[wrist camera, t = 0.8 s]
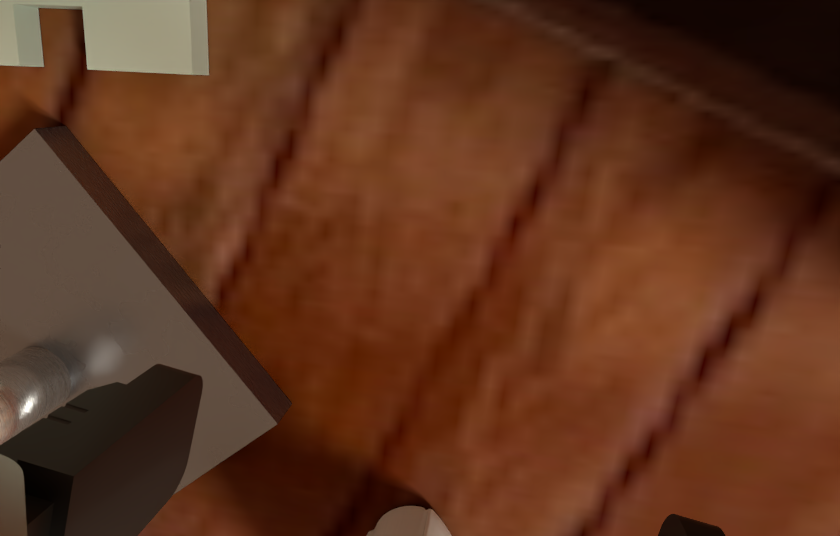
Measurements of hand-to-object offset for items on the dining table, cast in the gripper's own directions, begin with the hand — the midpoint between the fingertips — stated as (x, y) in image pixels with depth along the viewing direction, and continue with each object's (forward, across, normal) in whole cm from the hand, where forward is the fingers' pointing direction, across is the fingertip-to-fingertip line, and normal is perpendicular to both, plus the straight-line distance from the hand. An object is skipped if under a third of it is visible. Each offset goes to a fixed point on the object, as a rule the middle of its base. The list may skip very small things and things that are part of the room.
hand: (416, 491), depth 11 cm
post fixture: (+19, +17, +10) cm, 28 cm away
